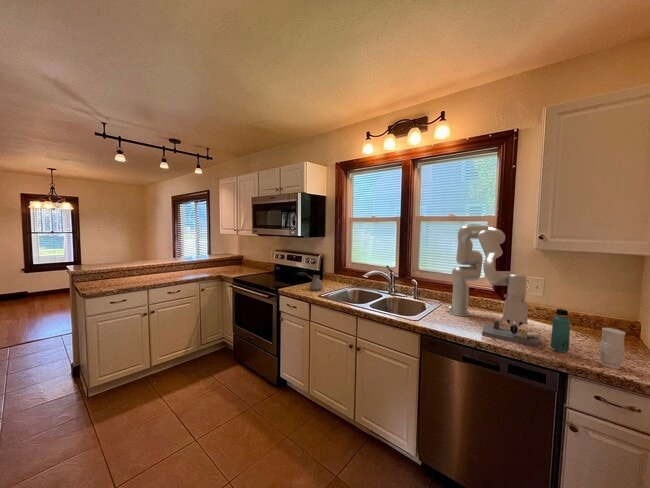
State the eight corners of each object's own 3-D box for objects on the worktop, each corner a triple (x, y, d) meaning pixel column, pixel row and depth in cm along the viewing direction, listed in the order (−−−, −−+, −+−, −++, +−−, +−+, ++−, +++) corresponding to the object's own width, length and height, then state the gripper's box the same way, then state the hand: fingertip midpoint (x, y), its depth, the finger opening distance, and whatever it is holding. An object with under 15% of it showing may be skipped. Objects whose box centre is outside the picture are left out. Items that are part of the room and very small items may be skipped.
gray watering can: (324, 289, 236) (325, 273, 235) (318, 292, 226) (318, 275, 225) (304, 286, 246) (304, 270, 245) (297, 289, 236) (297, 272, 235)
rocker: (527, 336, 134) (527, 334, 134) (527, 334, 137) (526, 332, 137) (538, 336, 131) (538, 334, 131) (537, 334, 134) (537, 332, 134)
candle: (623, 371, 107) (626, 335, 106) (598, 364, 112) (601, 330, 111) (622, 365, 112) (625, 331, 111) (598, 359, 117) (601, 326, 116)
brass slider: (518, 337, 133) (519, 329, 133) (518, 335, 136) (519, 328, 135) (525, 338, 132) (525, 331, 132) (524, 337, 134) (525, 329, 134)
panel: (482, 335, 141) (482, 329, 141) (483, 327, 152) (484, 322, 151) (539, 347, 127) (540, 340, 127) (537, 338, 138) (537, 332, 138)
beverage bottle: (562, 356, 119) (565, 312, 118) (546, 349, 125) (549, 308, 124) (572, 354, 121) (575, 311, 120) (556, 347, 127) (559, 307, 126)
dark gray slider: (493, 328, 145) (493, 321, 145) (493, 326, 147) (493, 319, 147) (499, 329, 144) (499, 322, 144) (499, 327, 146) (499, 320, 146)
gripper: (498, 297, 135) (496, 332, 137) (535, 302, 127) (532, 339, 128) (498, 294, 142) (496, 327, 143) (534, 299, 133) (531, 334, 134)
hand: (513, 333), depth 136 cm, fingers closed
